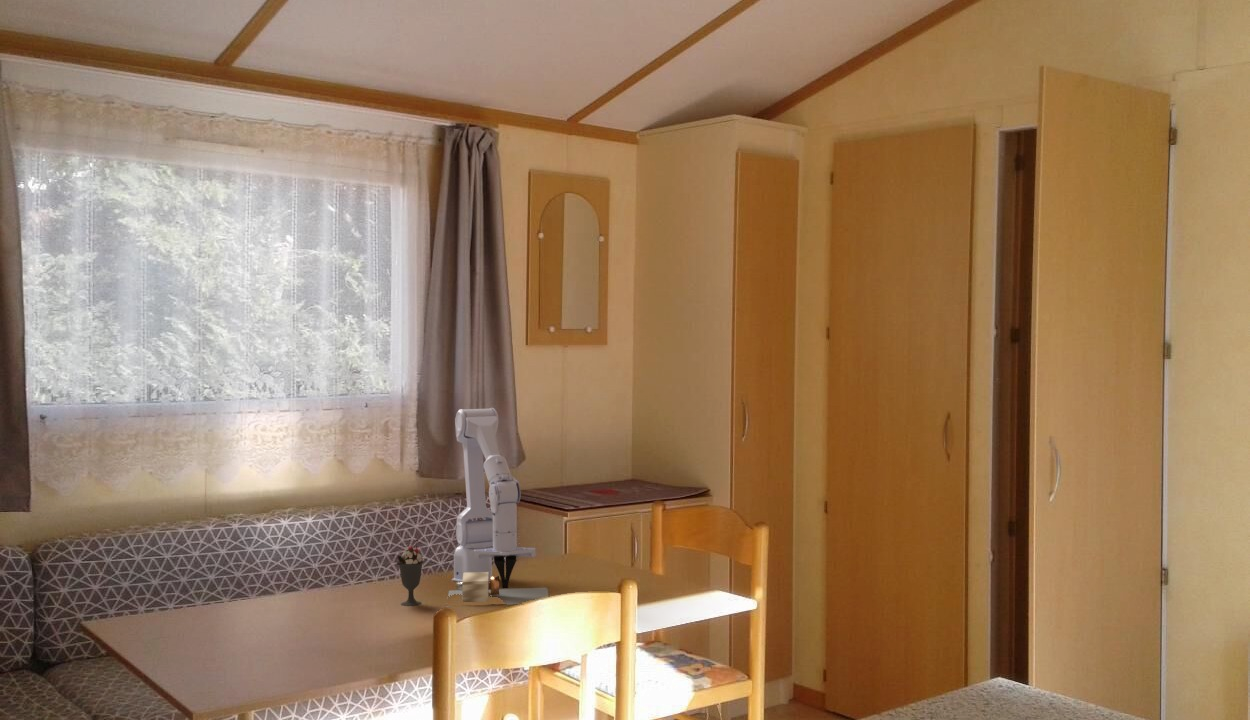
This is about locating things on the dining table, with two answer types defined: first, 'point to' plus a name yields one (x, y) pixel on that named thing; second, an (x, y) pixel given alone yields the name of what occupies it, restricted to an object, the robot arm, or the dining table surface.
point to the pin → (492, 585)
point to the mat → (514, 594)
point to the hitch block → (475, 587)
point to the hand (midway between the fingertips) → (505, 587)
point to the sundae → (410, 572)
